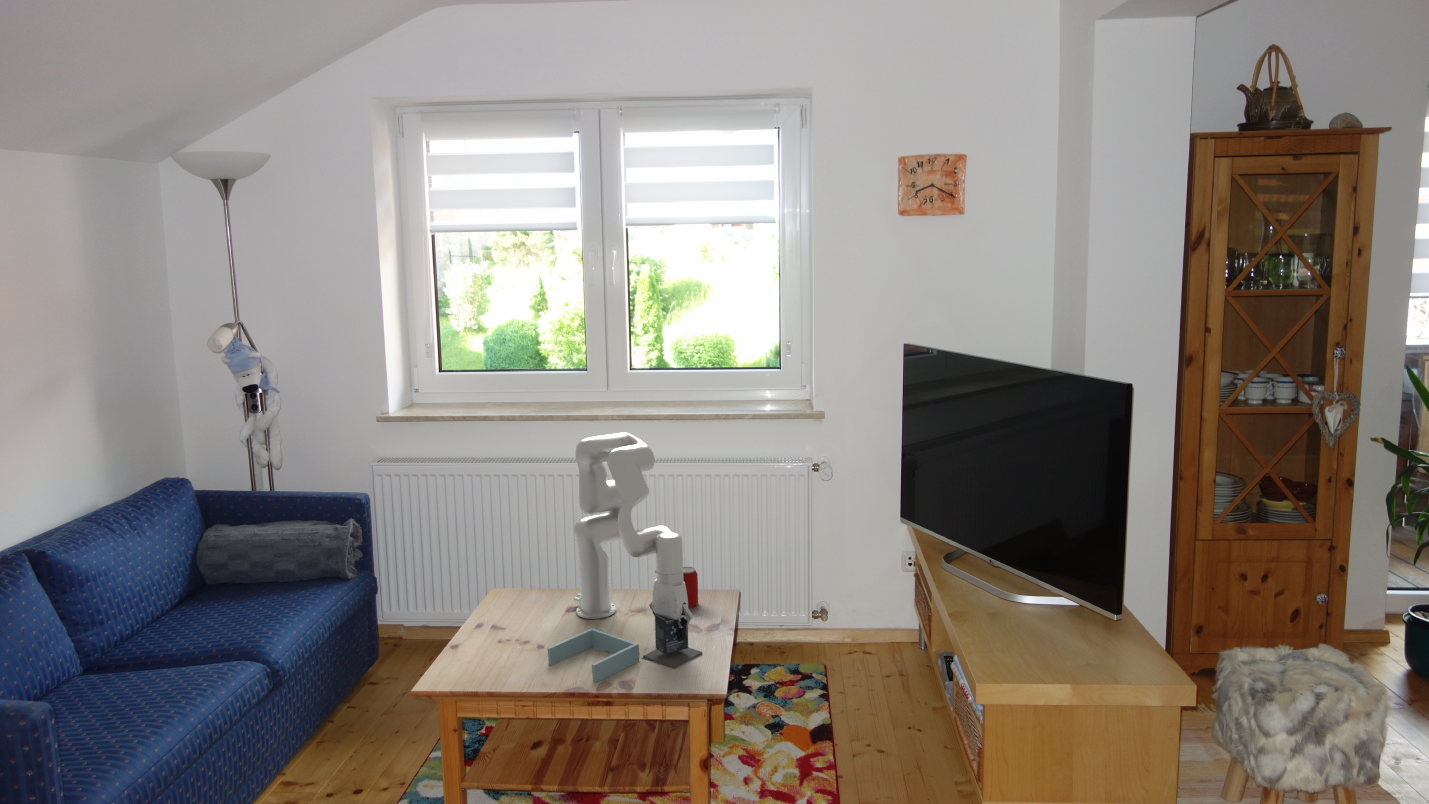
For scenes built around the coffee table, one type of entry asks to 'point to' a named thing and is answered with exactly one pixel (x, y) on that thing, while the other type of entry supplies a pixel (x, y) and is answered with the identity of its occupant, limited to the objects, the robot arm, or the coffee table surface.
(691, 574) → the beverage can
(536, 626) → the coffee table surface
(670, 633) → the box
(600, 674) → the cubby
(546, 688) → the coffee table surface
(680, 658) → the mat
